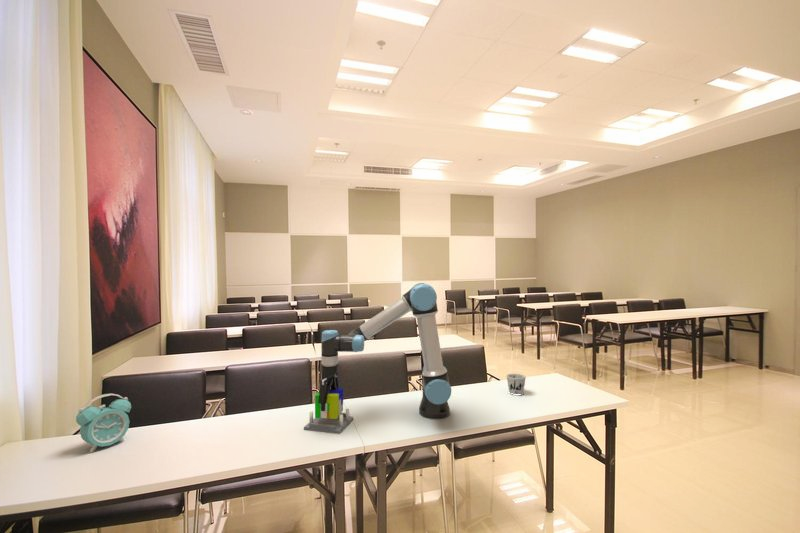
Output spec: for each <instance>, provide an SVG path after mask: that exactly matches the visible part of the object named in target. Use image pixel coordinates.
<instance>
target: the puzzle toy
mask: <svg viewBox="0 0 800 533" xmlns="http://www.w3.org/2000/svg"><path fill="white" fill-rule="evenodd" d="M319 392H320V390H319V391H318V392H317V393H316V394H315V395H314V418H321V404H320V403H318V399H319ZM326 403H327V418H329V419H337V418H338V417H339V415H340V414H341V413H343V411H344V388H340V389H338V388H337V389H331V388H330V389H329V392H328V396H327V401H326Z"/></svg>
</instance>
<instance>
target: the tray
mask: <svg viewBox="0 0 800 533" xmlns="http://www.w3.org/2000/svg"><path fill="white" fill-rule="evenodd" d="M353 420H354V416H350V408H345V412H341V414H340V415H339V417H338V418H337V419H329V418H315V417H314V411H312V410H311V411H309V422H308V423H307V424H305V426H303V430H305V431H311V432H320V433H327V434H328V433H329V434H337V435H340V434H341V433H342V432H343V431H344V430H345V429H347V427H348V426H349V424H351V422H353Z"/></svg>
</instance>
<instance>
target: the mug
mask: <svg viewBox="0 0 800 533" xmlns="http://www.w3.org/2000/svg"><path fill="white" fill-rule="evenodd" d="M526 378H527V377H526V375H524V374H521V373H520V374H519V373H507V374H506V380H507V387H508V392H510V393H513V394H523V395H524V392H525V385H526V384H525V383H526ZM510 393H509V394H510Z"/></svg>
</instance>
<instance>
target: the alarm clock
mask: <svg viewBox="0 0 800 533" xmlns="http://www.w3.org/2000/svg"><path fill="white" fill-rule="evenodd" d="M109 396H116V397H118V399H115V400H113V401H112V402H111V403H110V404H109V405H108V406H107V407H106V404H102V405H99V406H98V407H97V406H90V405H91V404H92V403H93V402H95V401H96V400H98V399H102V398H105V397H109ZM131 409H132V403H131V402H130V401H129V399H128V397H127V396H124V397H123V396H121V395H120V394H116V393H104V394H101V395H98V396H95V397H94V398H92V399H91V400H89V401H88V402H87V403H86V404H85V405H84V406H83V407H80V408H79V409H78V411H77V412H78V413H77V414H76V416H75V417H76V418H75V422H76V423H77V425H78V426H80V429H79V434H80V438H81V439H82V440H83V441H84V442H86V444H90V445H92V446H91V448H90V449H89V451H88V453H93V452H95V451H96V449H97V448H98V447H109V446H111V445H113V444H115V443H118V442H120V443H123V442H125V441H126V440H125V439H124V436H126V435H125V434H127V432H128V431H129V427H130V422H131V421H130V418H129V415H128V414H129V413H130V411H131ZM127 413H128V414H127Z"/></svg>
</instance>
